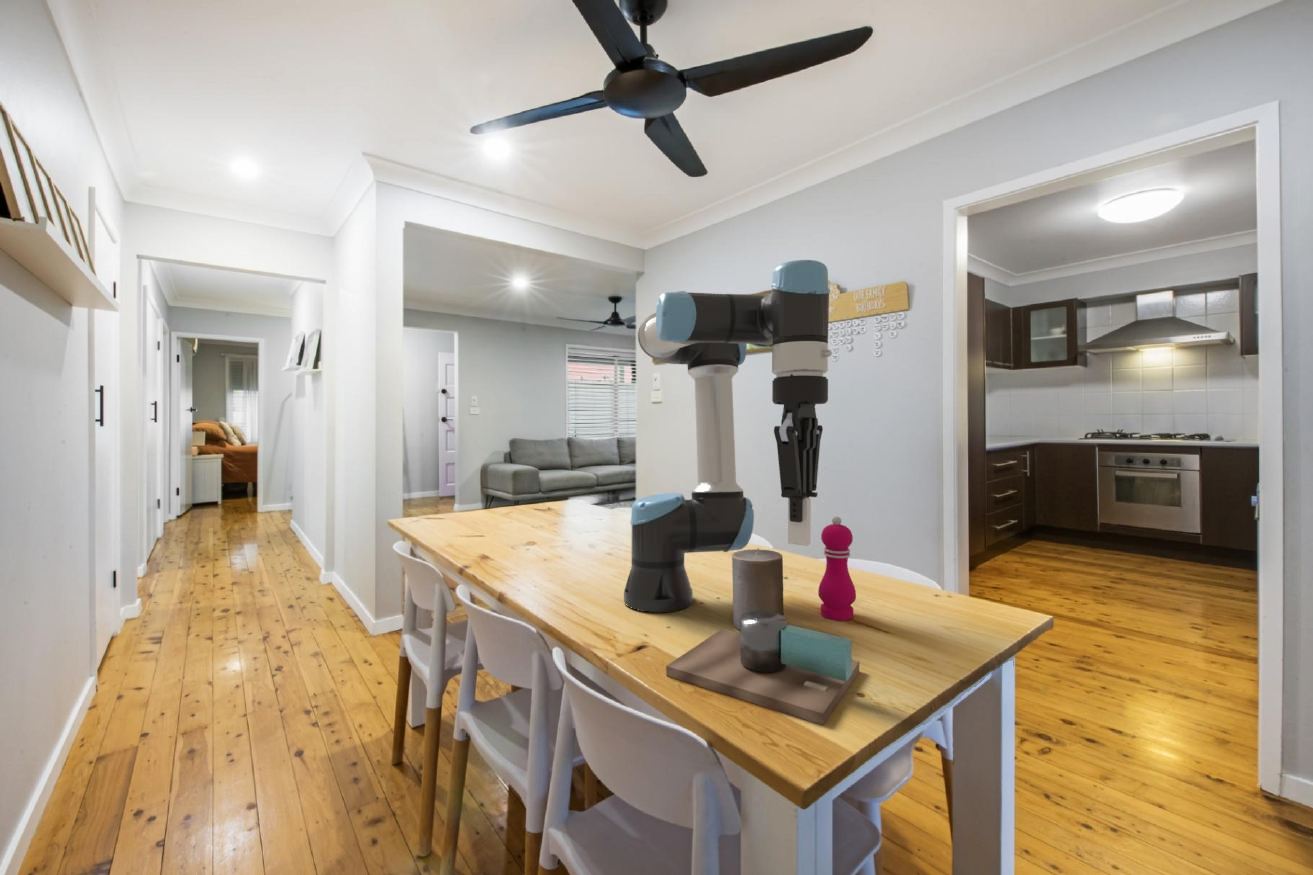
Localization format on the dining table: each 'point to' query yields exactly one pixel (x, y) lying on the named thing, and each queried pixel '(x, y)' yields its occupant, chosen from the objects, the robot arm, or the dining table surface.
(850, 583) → the pepper mill
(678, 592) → the robot arm
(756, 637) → the cylinder with teal slab
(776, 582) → the pillar candle
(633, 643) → the dining table surface
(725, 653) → the base
